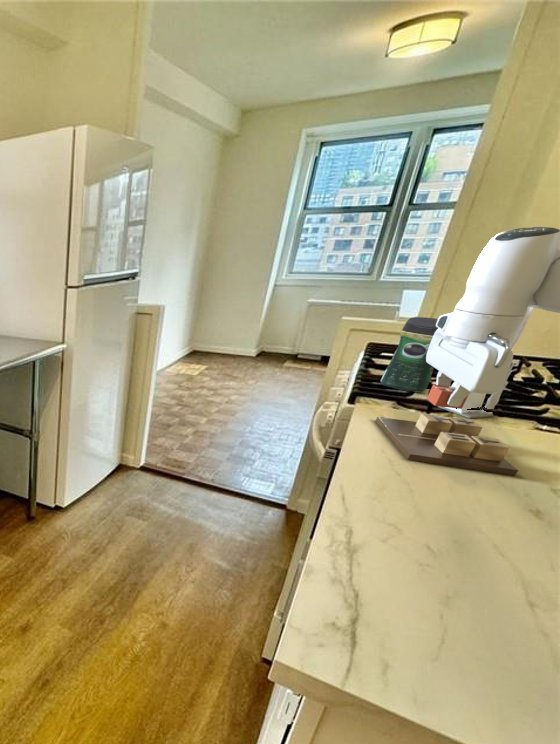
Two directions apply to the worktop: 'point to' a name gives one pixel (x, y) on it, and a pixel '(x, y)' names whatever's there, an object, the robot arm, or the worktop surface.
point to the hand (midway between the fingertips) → (445, 400)
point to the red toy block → (442, 396)
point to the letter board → (434, 448)
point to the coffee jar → (411, 356)
